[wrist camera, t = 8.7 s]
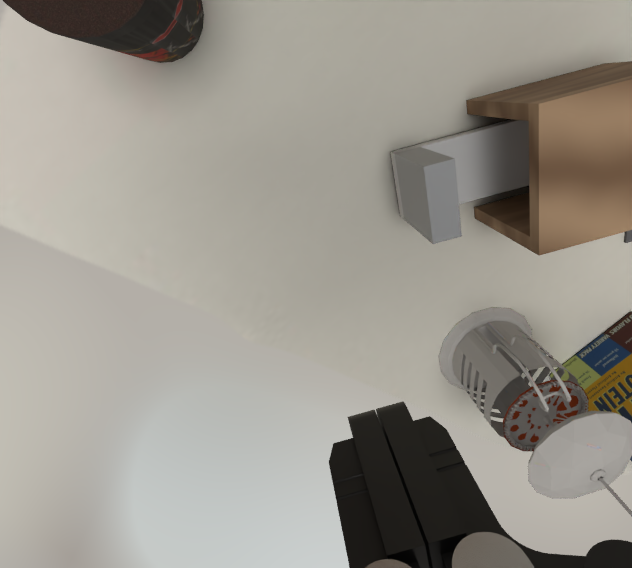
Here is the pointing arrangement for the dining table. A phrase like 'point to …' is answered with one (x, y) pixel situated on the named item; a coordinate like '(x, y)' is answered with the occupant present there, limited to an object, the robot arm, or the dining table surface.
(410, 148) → the sled
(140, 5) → the deodorant
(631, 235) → the pit pads
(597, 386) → the protein box
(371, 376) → the dining table surface
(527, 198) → the tunnel
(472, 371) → the french press
